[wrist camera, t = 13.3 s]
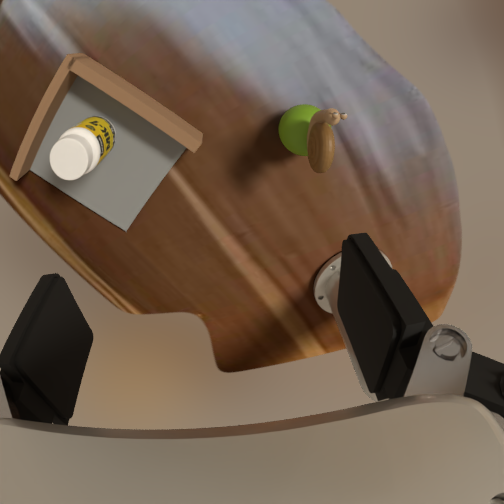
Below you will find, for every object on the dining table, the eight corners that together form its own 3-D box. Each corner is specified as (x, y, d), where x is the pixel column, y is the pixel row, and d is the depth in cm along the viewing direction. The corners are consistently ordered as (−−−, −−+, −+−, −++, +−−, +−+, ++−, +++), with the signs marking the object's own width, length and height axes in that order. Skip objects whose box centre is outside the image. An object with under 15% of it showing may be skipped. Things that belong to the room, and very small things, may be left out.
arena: (202, 133, 33) (201, 143, 30) (130, 231, 39) (123, 249, 35) (82, 53, 26) (67, 54, 22) (24, 163, 31) (9, 176, 28)
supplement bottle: (124, 141, 32) (102, 167, 25) (92, 163, 32) (65, 194, 26) (102, 106, 29) (73, 123, 22) (70, 130, 30) (36, 154, 23)
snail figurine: (324, 93, 32) (373, 116, 22) (319, 148, 35) (362, 191, 26) (275, 91, 31) (305, 110, 21) (273, 147, 35) (299, 190, 25)
